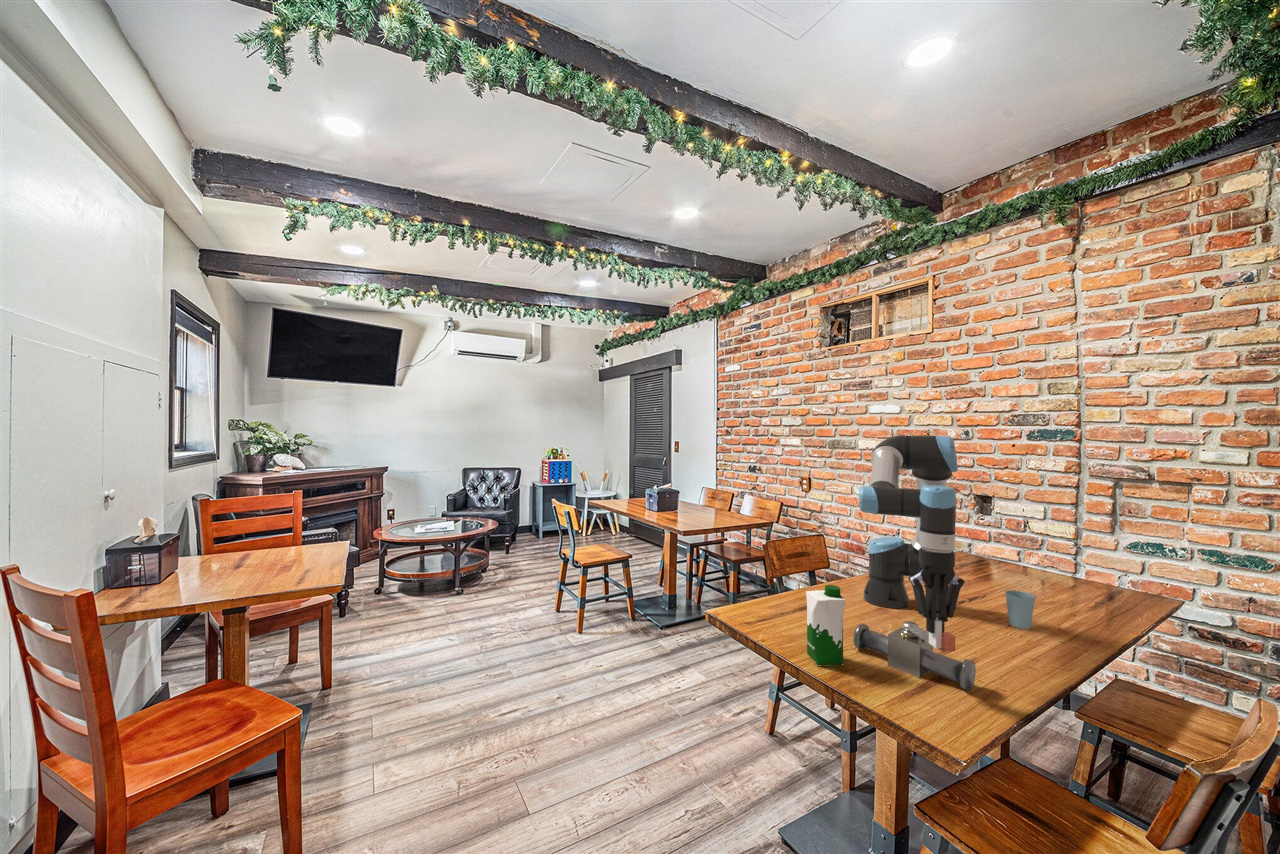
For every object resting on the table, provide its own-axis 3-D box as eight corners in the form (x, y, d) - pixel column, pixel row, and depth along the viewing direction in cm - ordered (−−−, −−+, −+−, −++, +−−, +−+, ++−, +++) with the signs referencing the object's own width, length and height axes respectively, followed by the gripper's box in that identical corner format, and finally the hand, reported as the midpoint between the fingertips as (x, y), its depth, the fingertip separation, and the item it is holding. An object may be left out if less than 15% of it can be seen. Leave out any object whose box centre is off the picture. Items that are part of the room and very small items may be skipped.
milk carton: (848, 667, 128) (849, 592, 128) (815, 668, 128) (816, 593, 128) (832, 652, 137) (833, 582, 137) (802, 653, 136) (802, 582, 136)
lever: (899, 628, 130) (899, 612, 130) (911, 627, 131) (912, 611, 131) (943, 654, 115) (943, 636, 115) (956, 654, 116) (956, 636, 116)
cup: (1040, 628, 155) (1040, 596, 155) (1026, 632, 152) (1026, 599, 152) (1014, 619, 162) (1014, 589, 162) (1000, 623, 159) (1000, 592, 159)
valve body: (852, 651, 138) (852, 617, 138) (866, 644, 142) (866, 611, 142) (963, 695, 115) (964, 654, 115) (976, 684, 120) (976, 645, 120)
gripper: (920, 553, 113) (918, 652, 113) (973, 553, 114) (971, 652, 114) (902, 545, 121) (900, 638, 121) (951, 545, 122) (949, 638, 121)
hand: (934, 645), depth 117 cm, fingers closed
